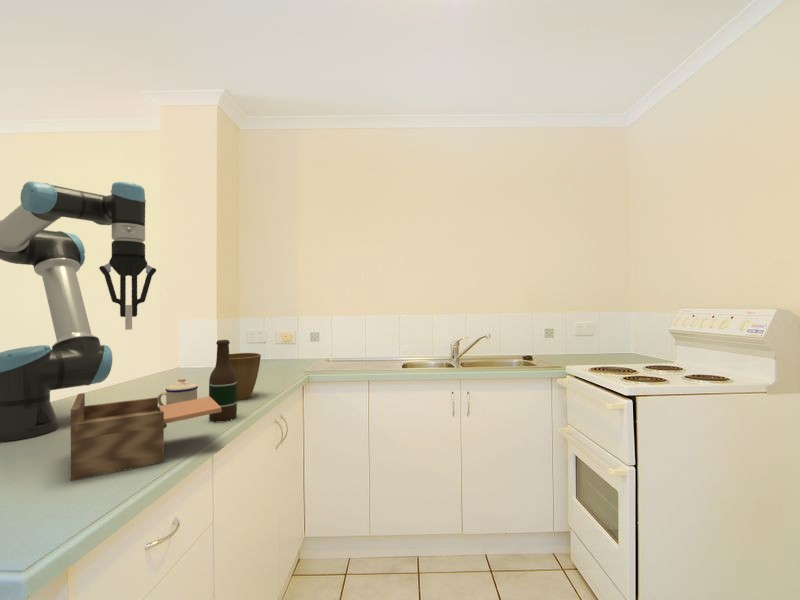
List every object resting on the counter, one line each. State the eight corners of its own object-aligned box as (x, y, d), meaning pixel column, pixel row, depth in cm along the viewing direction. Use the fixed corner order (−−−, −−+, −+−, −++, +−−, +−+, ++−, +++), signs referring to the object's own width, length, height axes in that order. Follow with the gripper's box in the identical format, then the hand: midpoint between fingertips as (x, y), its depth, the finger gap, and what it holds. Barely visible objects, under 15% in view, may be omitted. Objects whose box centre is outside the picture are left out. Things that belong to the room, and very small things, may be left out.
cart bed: (70, 480, 80) (70, 409, 80) (78, 453, 95) (78, 393, 95) (166, 461, 90) (166, 398, 90) (160, 439, 104) (160, 385, 105)
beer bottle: (209, 423, 118) (209, 341, 118) (208, 417, 125) (208, 339, 125) (238, 420, 122) (238, 340, 122) (235, 414, 129) (235, 338, 129)
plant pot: (216, 396, 154) (216, 354, 154) (257, 392, 161) (257, 352, 161) (219, 404, 141) (219, 358, 141) (264, 399, 148) (264, 356, 148)
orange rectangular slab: (164, 419, 91) (221, 407, 98) (158, 406, 103) (210, 396, 110) (164, 427, 91) (221, 415, 98) (159, 413, 103) (210, 403, 110)
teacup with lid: (202, 411, 133) (202, 375, 133) (190, 418, 124) (190, 380, 124) (165, 411, 132) (165, 376, 132) (149, 419, 123) (149, 381, 123)
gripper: (97, 237, 102) (97, 331, 102) (157, 241, 109) (158, 328, 109) (99, 241, 108) (99, 329, 108) (155, 245, 115) (155, 327, 115)
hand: (128, 329), depth 108 cm, fingers closed
